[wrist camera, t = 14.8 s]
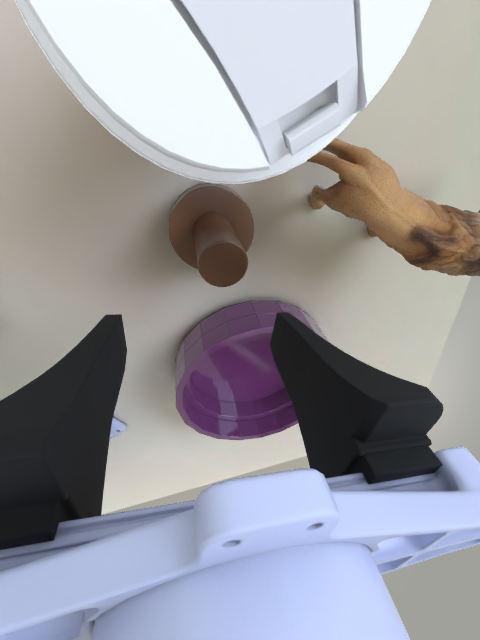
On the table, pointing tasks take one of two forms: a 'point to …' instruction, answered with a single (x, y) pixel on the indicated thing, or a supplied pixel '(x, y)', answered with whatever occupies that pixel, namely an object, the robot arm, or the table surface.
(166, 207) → the table surface
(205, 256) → the brown stamp
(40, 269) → the table surface
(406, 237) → the lion figurine
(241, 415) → the bowl
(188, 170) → the paper cup
